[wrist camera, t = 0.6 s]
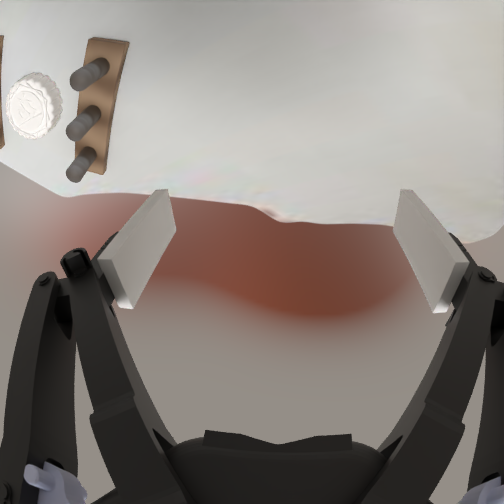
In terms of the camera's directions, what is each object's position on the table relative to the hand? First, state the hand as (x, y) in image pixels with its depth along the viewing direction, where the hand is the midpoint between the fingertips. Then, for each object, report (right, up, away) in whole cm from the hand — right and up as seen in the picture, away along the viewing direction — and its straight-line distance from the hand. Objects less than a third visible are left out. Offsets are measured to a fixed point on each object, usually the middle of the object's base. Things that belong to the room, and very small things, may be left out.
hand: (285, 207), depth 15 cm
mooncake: (-38, +23, +17) cm, 48 cm away
